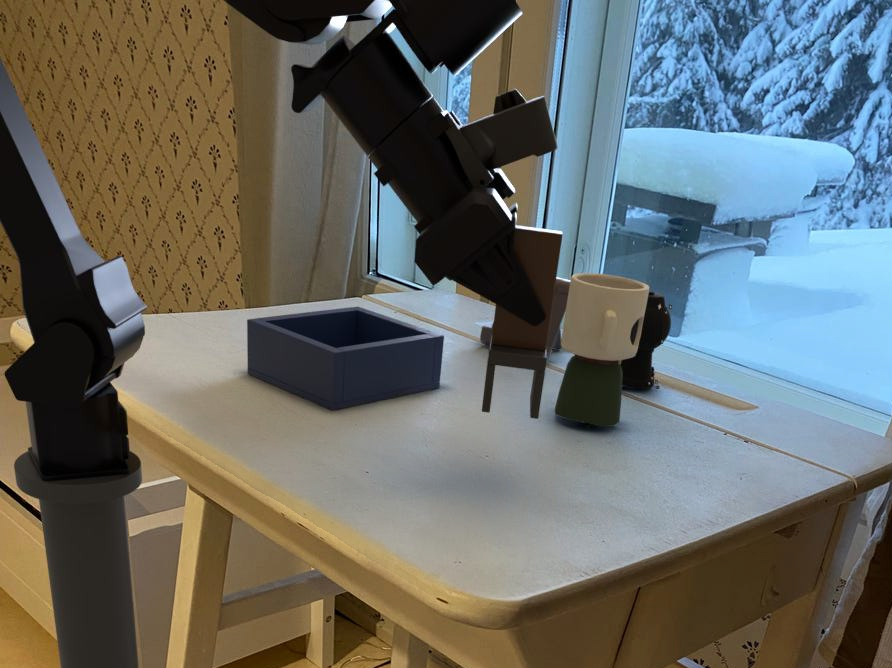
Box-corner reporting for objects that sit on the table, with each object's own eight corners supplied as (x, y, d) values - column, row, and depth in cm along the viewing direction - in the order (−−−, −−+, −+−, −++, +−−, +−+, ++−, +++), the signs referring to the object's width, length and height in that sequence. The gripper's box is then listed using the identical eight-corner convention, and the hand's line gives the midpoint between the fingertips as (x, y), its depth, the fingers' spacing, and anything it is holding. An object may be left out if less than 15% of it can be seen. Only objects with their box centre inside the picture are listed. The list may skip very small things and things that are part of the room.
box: (332, 410, 87) (334, 352, 84) (247, 373, 93) (246, 319, 91) (439, 387, 97) (444, 335, 94) (355, 356, 103) (357, 306, 101)
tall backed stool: (481, 412, 71) (503, 230, 64) (484, 392, 75) (504, 220, 69) (538, 419, 71) (565, 238, 64) (537, 399, 75) (562, 227, 69)
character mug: (628, 445, 88) (658, 298, 81) (551, 436, 88) (575, 288, 81) (616, 408, 97) (642, 274, 91) (546, 400, 97) (567, 265, 91)
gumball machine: (672, 393, 105) (693, 298, 100) (632, 398, 102) (652, 300, 96) (631, 375, 109) (649, 283, 104) (591, 379, 106) (608, 284, 101)
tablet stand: (477, 344, 113) (486, 270, 109) (515, 336, 119) (524, 265, 115) (539, 363, 109) (551, 287, 105) (575, 354, 115) (587, 281, 111)
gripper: (491, 33, 53) (648, 270, 59) (500, 42, 69) (623, 227, 75) (343, 172, 57) (504, 381, 63) (384, 149, 73) (509, 317, 79)
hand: (541, 319), depth 70 cm, fingers closed on tall backed stool
